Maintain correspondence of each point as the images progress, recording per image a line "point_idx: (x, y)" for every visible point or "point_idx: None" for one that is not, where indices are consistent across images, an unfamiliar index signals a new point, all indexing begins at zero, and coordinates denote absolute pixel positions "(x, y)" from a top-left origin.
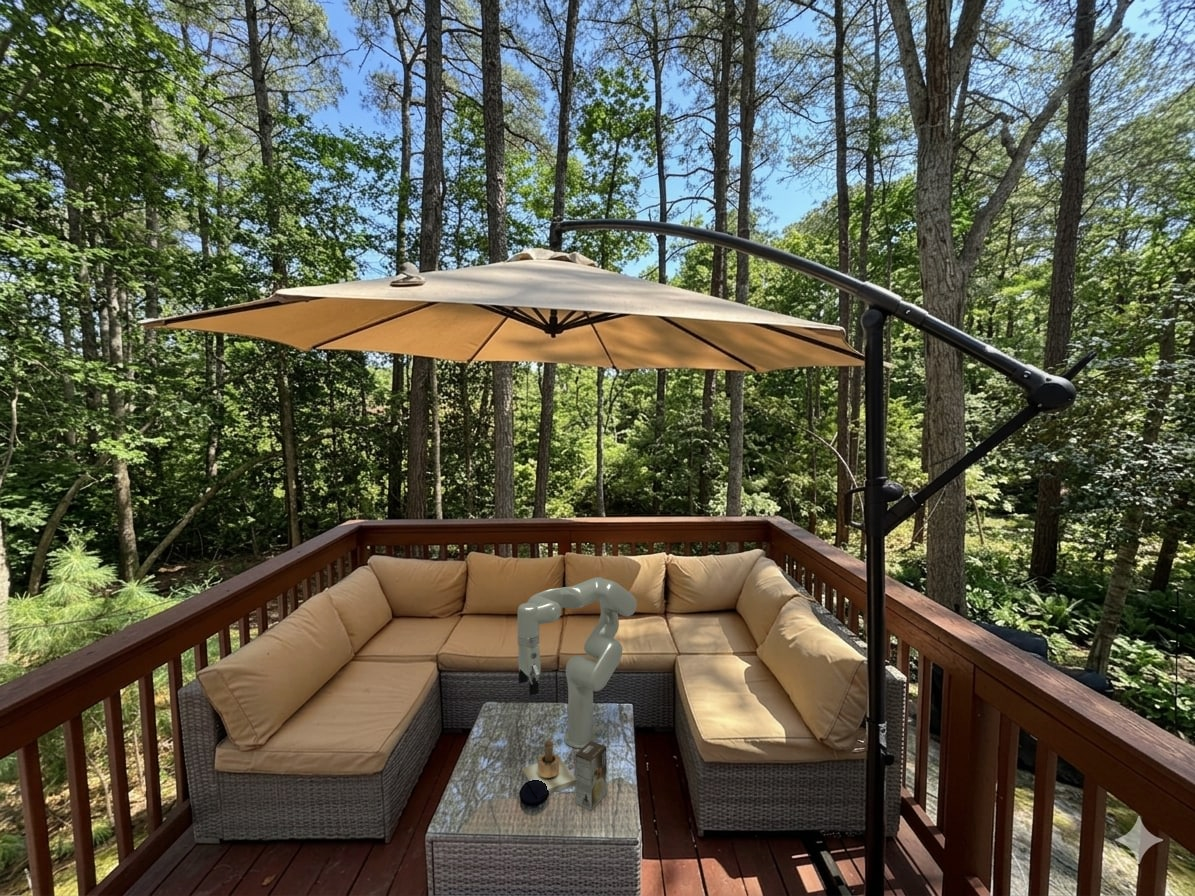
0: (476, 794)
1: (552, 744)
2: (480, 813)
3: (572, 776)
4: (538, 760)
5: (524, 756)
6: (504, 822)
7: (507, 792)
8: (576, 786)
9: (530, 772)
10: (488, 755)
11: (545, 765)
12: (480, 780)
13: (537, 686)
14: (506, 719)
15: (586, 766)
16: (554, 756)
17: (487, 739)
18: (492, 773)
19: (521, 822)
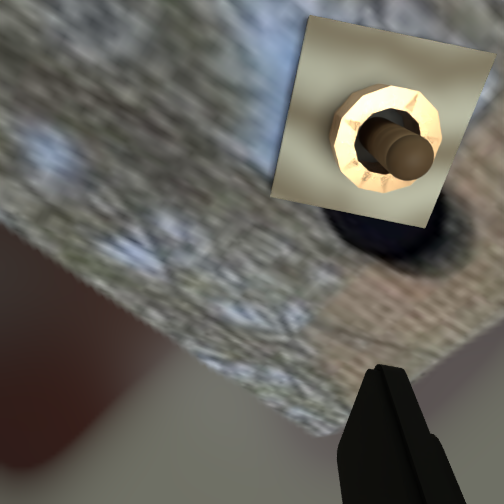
0: (264, 336)
1: (428, 141)
2: (340, 359)
3: (467, 55)
4: (359, 185)
5: (181, 124)
6: (419, 334)
7: (319, 271)
8: None
9: (313, 184)
10: (104, 227)
11: (412, 181)
12: (214, 302)
13: (433, 477)
14: None
15: None
16: (393, 106)
17: (3, 183)
18: (205, 262)
19: (458, 303)
